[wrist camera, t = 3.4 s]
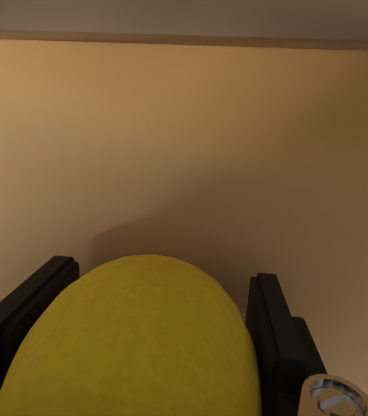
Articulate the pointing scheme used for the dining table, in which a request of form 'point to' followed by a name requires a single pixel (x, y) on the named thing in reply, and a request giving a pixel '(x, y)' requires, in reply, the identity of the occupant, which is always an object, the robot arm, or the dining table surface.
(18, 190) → the dining table surface
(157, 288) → the lemon
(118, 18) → the box
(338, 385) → the robot arm
